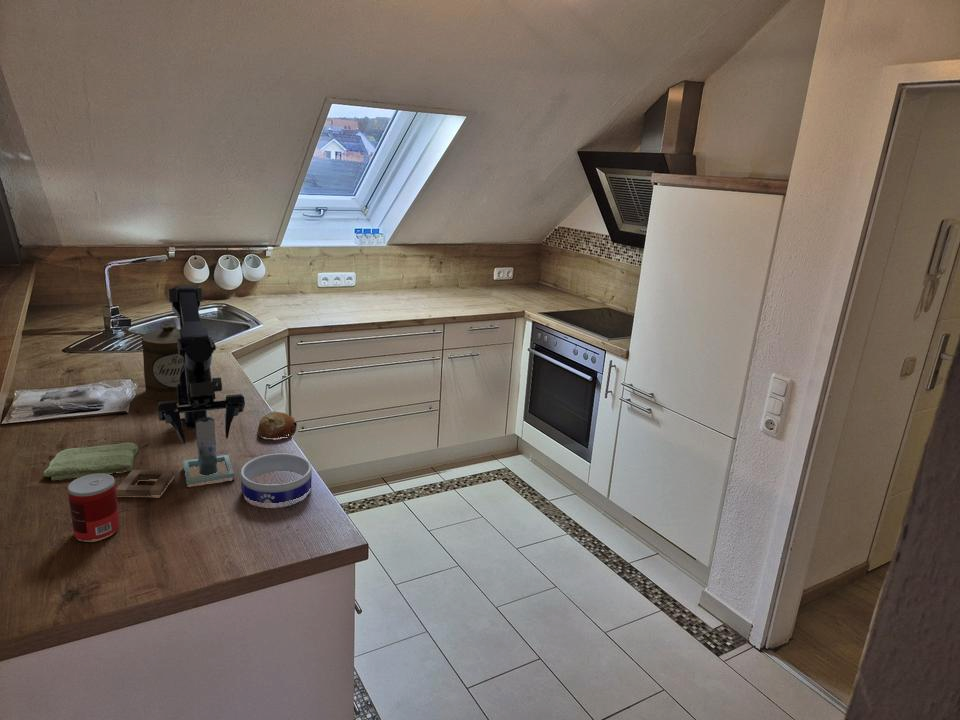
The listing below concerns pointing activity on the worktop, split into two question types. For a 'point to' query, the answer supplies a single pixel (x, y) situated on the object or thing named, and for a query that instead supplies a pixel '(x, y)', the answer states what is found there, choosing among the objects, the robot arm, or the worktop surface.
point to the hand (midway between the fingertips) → (206, 440)
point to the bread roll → (276, 425)
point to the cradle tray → (207, 477)
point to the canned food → (93, 506)
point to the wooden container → (162, 363)
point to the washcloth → (92, 461)
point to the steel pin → (206, 445)
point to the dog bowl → (276, 491)
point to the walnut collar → (144, 490)
